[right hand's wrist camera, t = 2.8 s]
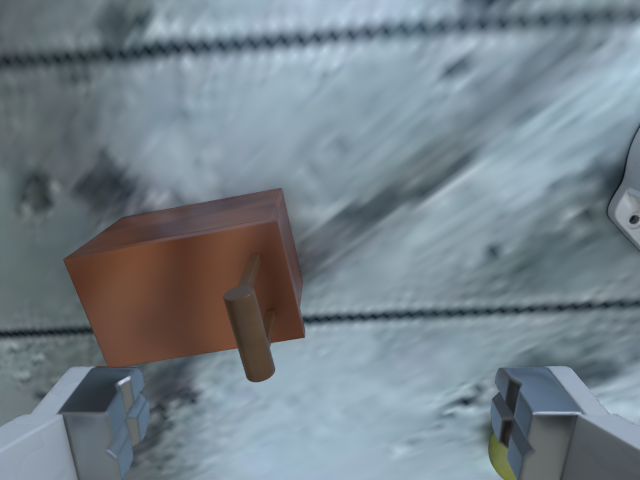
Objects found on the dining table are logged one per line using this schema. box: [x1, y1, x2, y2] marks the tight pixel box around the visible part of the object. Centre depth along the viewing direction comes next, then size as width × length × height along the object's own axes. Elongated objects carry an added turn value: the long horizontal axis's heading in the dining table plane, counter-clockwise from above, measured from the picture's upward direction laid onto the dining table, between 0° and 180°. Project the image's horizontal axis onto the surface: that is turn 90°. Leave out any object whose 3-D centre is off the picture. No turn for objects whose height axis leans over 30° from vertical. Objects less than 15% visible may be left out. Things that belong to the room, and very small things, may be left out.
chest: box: [71, 188, 303, 306], centre depth 39 cm, size 15×10×9 cm, turn 101°
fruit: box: [488, 433, 517, 480], centre depth 45 cm, size 7×8×12 cm
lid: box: [64, 217, 305, 382], centre depth 31 cm, size 16×10×8 cm, turn 101°
